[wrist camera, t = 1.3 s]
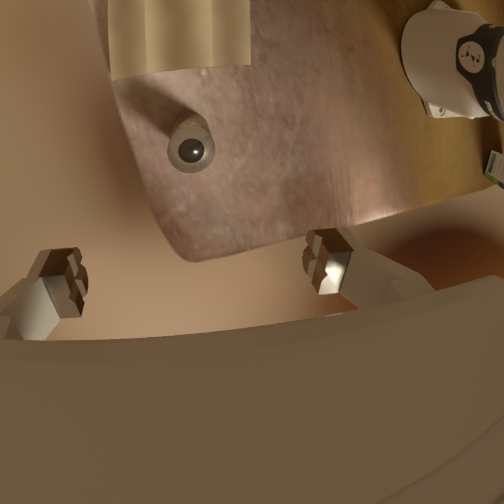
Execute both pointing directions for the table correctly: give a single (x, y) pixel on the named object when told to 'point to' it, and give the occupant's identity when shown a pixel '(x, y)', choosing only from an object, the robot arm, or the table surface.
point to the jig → (176, 35)
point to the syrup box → (495, 168)
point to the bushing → (190, 143)
